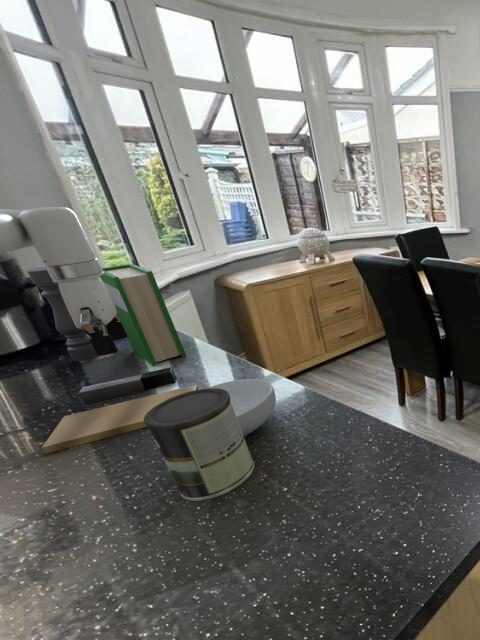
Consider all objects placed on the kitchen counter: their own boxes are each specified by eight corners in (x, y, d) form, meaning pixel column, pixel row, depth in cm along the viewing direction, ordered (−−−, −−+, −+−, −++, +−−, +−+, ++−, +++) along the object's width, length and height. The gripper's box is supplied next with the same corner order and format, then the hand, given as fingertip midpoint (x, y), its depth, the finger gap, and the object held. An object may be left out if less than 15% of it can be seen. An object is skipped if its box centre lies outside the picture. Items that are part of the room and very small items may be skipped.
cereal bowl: (234, 403, 86) (223, 375, 83) (300, 410, 82) (292, 381, 79) (155, 454, 70) (139, 422, 68) (233, 465, 67) (219, 431, 64)
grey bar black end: (84, 404, 87) (77, 392, 86) (89, 398, 89) (82, 386, 88) (175, 383, 95) (170, 371, 93) (177, 378, 97) (172, 366, 96)
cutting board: (45, 454, 71) (41, 447, 71) (67, 422, 81) (63, 416, 80) (194, 414, 82) (191, 408, 82) (198, 390, 91) (196, 384, 91)
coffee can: (170, 510, 58) (130, 433, 53) (190, 467, 67) (158, 396, 61) (249, 489, 62) (220, 414, 56) (259, 450, 71) (235, 382, 65)
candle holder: (66, 360, 109) (18, 271, 99) (91, 351, 114) (48, 266, 104) (84, 361, 108) (37, 271, 98) (109, 352, 113) (67, 266, 103)
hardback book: (186, 356, 109) (151, 271, 99) (153, 366, 104) (112, 277, 94) (165, 342, 119) (131, 263, 109) (133, 351, 113) (95, 269, 103)
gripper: (64, 266, 85) (101, 338, 92) (33, 282, 72) (79, 365, 79) (110, 261, 89) (142, 330, 96) (88, 275, 76) (127, 355, 83)
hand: (114, 346), depth 88 cm, fingers open, 9 cm apart
